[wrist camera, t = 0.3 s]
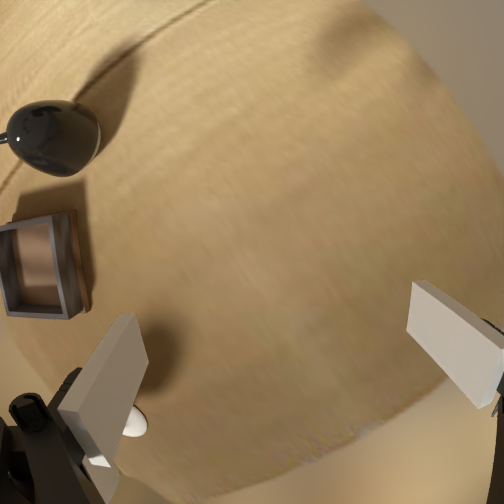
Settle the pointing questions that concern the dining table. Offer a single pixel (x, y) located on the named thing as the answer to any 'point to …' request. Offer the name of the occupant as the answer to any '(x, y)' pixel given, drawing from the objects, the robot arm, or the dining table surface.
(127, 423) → the wineglass
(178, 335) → the dining table surface
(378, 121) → the dining table surface
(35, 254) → the holder
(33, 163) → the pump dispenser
